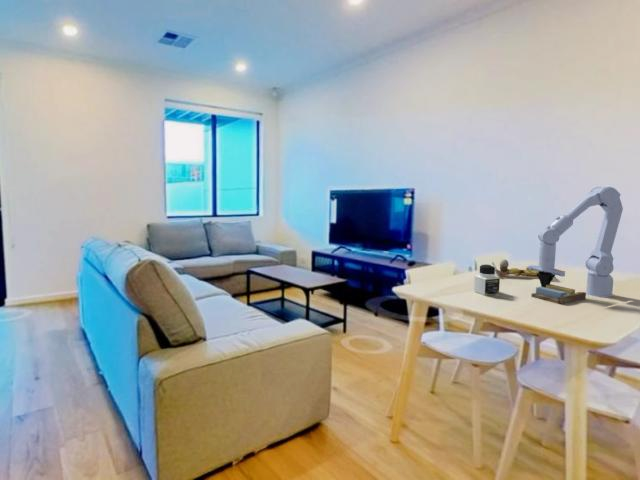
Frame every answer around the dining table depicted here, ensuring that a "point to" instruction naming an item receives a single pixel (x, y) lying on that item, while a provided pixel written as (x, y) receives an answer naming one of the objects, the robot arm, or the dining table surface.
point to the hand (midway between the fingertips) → (544, 289)
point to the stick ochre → (561, 289)
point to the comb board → (562, 298)
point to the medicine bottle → (486, 281)
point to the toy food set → (514, 272)
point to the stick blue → (549, 292)
